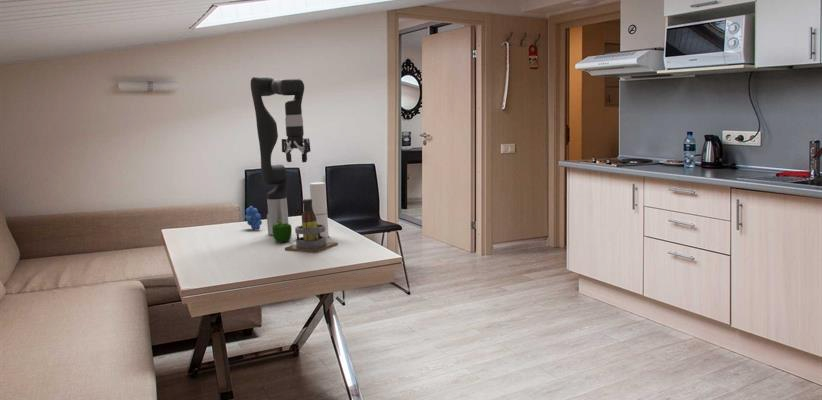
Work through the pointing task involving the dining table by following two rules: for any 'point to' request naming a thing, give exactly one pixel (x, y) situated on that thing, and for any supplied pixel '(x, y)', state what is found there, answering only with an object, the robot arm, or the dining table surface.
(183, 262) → the dining table surface
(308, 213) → the sauce bottle
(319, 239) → the collar stand
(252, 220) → the grapes
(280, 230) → the bell pepper
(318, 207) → the cylindrical container
